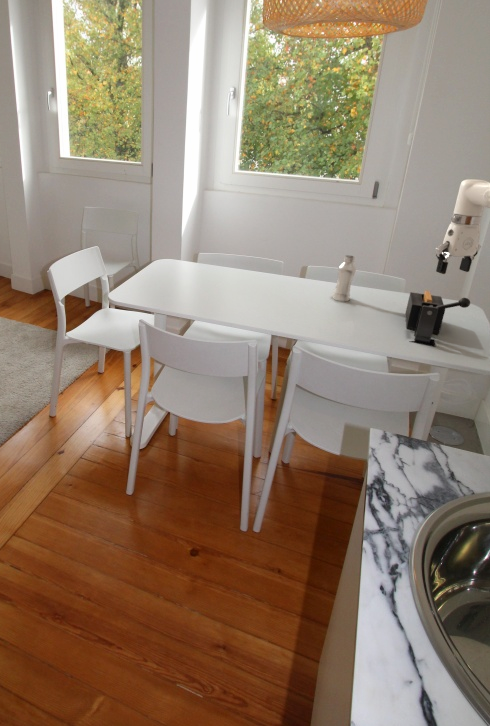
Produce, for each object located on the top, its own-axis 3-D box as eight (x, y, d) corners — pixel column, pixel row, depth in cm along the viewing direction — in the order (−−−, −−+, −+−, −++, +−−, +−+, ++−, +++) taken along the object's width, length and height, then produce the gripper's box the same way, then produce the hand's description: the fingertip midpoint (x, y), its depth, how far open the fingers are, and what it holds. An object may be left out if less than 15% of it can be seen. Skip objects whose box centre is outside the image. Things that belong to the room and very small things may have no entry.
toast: (423, 316, 173) (429, 291, 169) (425, 326, 164) (432, 300, 160) (418, 315, 173) (425, 290, 169) (420, 325, 165) (427, 299, 161)
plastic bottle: (351, 304, 191) (362, 258, 183) (338, 307, 189) (349, 260, 180) (340, 298, 197) (350, 253, 188) (327, 300, 194) (337, 254, 186)
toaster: (434, 324, 174) (441, 296, 170) (437, 338, 162) (445, 309, 158) (403, 319, 178) (410, 292, 174) (405, 333, 166) (412, 304, 162)
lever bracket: (433, 340, 161) (442, 303, 156) (435, 349, 154) (445, 311, 149) (407, 335, 164) (415, 299, 159) (407, 344, 157) (417, 306, 152)
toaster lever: (470, 304, 150) (468, 295, 150) (472, 307, 148) (469, 298, 147) (425, 313, 157) (422, 304, 156) (425, 316, 154) (423, 308, 154)
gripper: (454, 223, 142) (440, 277, 148) (497, 221, 147) (483, 273, 153) (434, 218, 149) (422, 270, 155) (476, 216, 153) (463, 266, 160)
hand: (452, 271), depth 154 cm, fingers open, 9 cm apart
